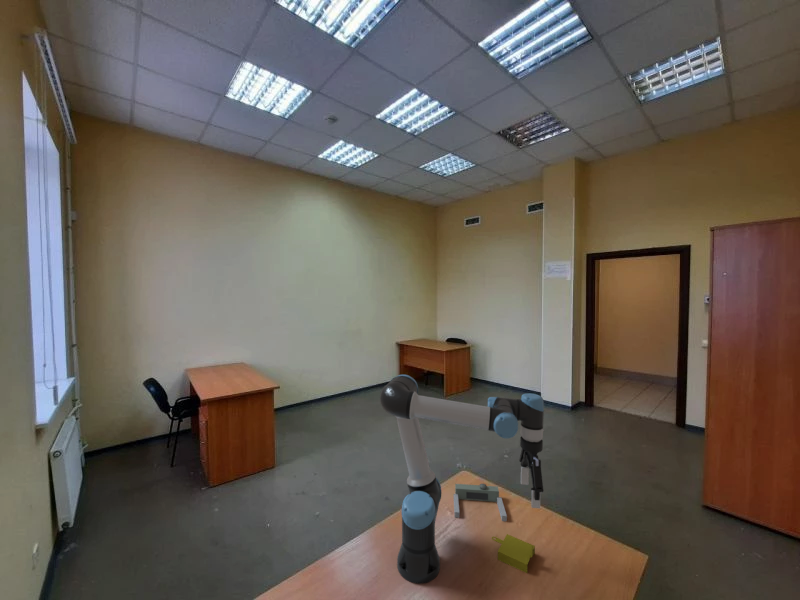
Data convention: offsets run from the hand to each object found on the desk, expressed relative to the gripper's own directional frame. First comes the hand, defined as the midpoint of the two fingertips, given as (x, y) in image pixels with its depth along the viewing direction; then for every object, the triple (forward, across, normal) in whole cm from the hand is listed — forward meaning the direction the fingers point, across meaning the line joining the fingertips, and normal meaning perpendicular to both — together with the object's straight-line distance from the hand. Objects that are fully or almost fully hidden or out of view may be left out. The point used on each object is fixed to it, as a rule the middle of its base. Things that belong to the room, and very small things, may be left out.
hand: (529, 495), depth 120 cm
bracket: (+21, +5, +12) cm, 25 cm away
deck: (+25, +28, +14) cm, 40 cm away
